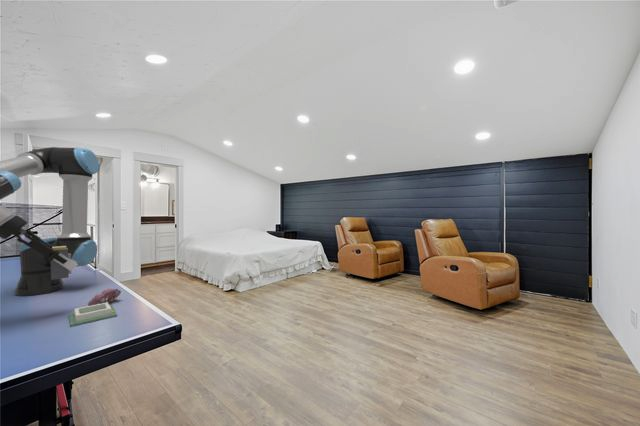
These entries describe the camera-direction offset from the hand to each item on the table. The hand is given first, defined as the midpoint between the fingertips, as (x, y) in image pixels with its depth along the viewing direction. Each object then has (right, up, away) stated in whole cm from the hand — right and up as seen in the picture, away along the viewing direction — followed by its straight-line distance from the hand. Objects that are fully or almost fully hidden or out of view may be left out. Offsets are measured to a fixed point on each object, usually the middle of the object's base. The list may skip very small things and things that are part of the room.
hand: (74, 266), depth 100 cm
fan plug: (-3, -3, -2) cm, 5 cm away
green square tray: (+10, -16, -4) cm, 20 cm away
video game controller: (+5, -16, +8) cm, 19 cm away
